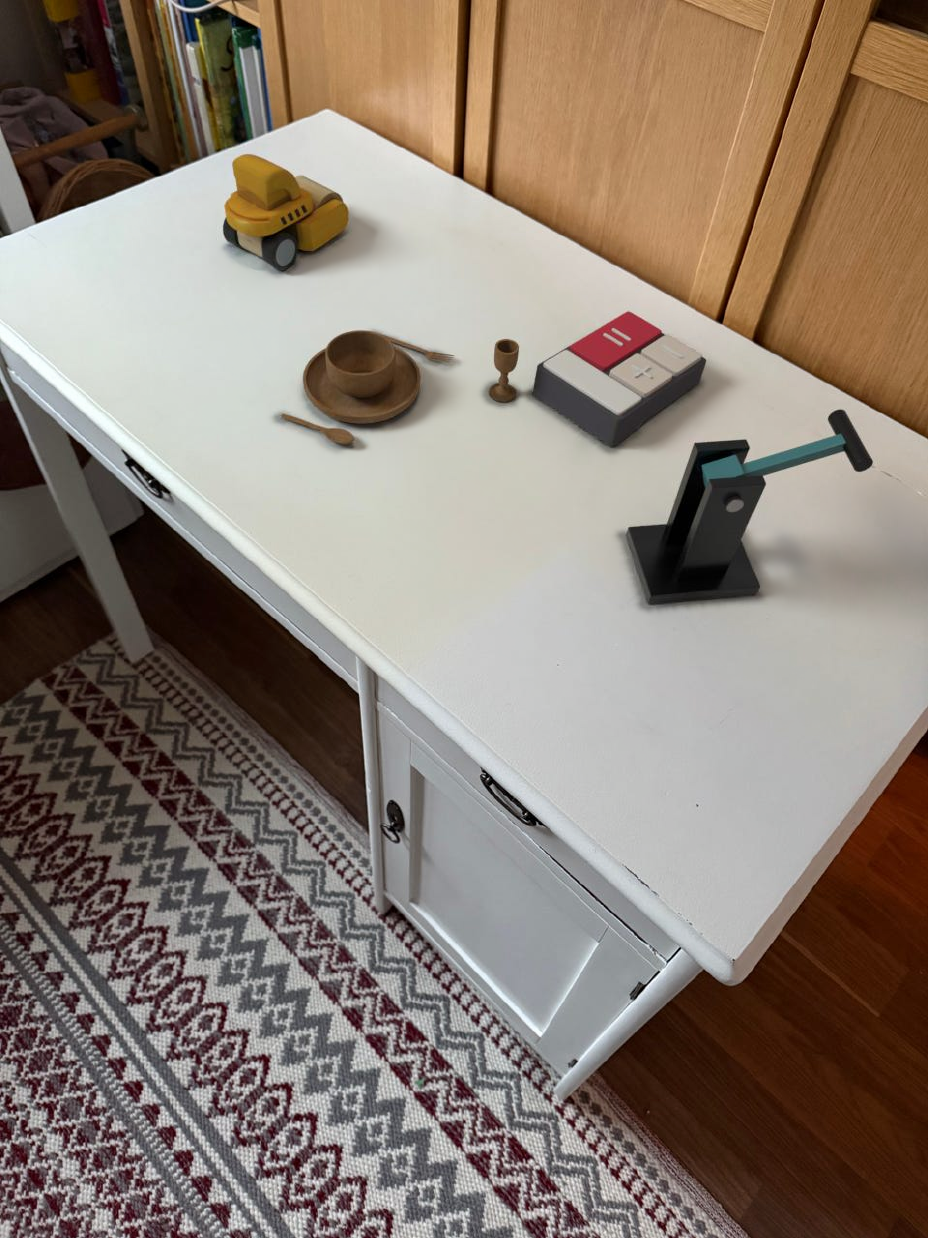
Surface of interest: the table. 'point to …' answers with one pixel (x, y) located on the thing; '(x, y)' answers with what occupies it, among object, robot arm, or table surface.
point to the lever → (798, 454)
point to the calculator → (618, 377)
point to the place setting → (378, 379)
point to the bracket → (701, 534)
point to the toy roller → (280, 212)
